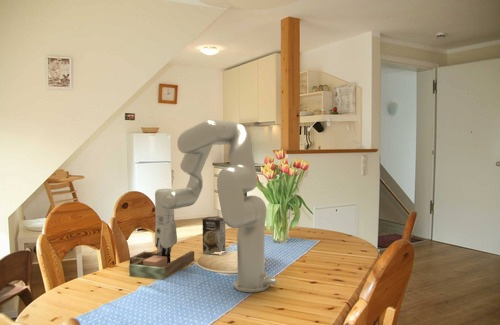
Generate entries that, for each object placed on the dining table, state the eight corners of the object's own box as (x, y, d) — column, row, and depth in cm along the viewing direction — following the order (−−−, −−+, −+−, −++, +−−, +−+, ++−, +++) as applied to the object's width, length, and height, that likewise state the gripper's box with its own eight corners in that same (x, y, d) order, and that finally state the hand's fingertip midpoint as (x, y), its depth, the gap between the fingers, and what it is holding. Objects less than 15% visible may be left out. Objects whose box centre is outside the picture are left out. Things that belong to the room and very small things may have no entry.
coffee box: (202, 253, 170) (201, 218, 169) (209, 250, 176) (208, 216, 175) (220, 255, 166) (219, 220, 166) (226, 251, 172) (225, 217, 172)
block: (167, 268, 150) (167, 256, 149) (156, 274, 143) (155, 262, 142) (155, 267, 152) (154, 255, 152) (143, 273, 145) (143, 260, 145)
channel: (194, 260, 160) (194, 251, 160) (163, 279, 137) (162, 268, 137) (153, 256, 167) (152, 247, 167) (116, 274, 144) (116, 263, 144)
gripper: (162, 223, 144) (163, 269, 144) (182, 216, 158) (183, 258, 158) (146, 222, 146) (147, 267, 147) (167, 215, 160) (168, 257, 161)
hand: (166, 262), depth 153 cm, fingers closed
